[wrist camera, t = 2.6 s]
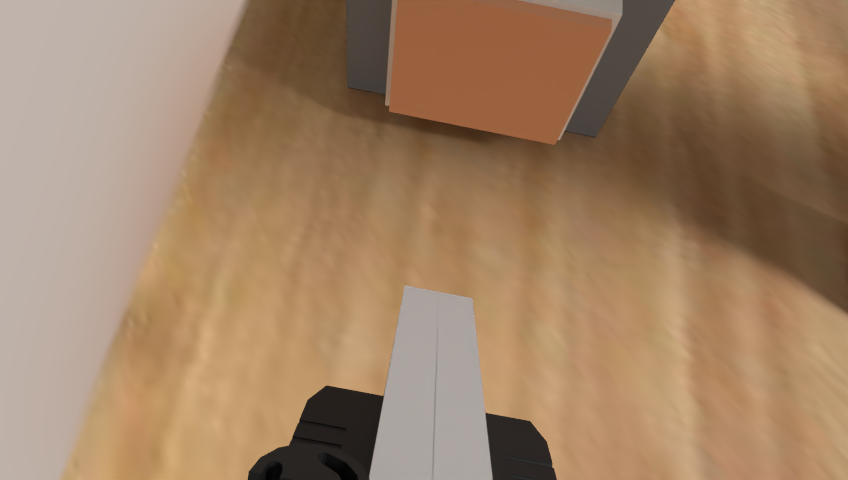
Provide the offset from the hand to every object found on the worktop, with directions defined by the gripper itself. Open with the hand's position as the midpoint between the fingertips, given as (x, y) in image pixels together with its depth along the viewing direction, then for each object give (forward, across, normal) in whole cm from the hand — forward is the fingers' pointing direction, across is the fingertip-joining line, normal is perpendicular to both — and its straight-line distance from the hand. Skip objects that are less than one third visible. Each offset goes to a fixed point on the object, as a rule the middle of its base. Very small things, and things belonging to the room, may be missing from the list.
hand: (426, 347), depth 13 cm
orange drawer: (+21, +1, +6) cm, 22 cm away
